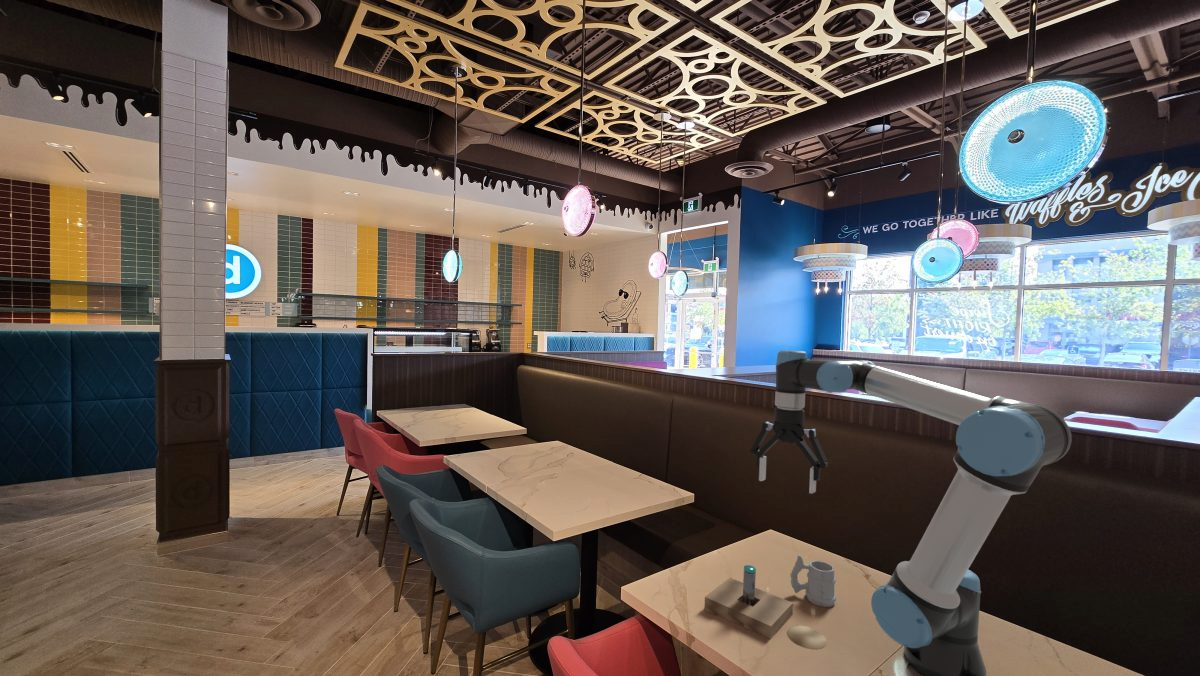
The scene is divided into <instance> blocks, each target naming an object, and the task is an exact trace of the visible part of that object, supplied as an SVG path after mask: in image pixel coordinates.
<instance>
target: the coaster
mask: <svg viewBox="0 0 1200 676" xmlns="http://www.w3.org/2000/svg"><path fill="white" fill-rule="evenodd" d="M786 635H787V638H788V639H789V640H791V642H792V643H794V644H796V645H797V646H800V647H802V648H805V649H808V650H822V649H823V648H825V647H826V646H827V644H828V642H827V639H826V637H825V635H823V633H821V632H820V631H818V630H817V629H814V628H812V627H809V626H806V625H805V626H804V625H792V626H790V627H788V628H787V629H786Z"/></svg>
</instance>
